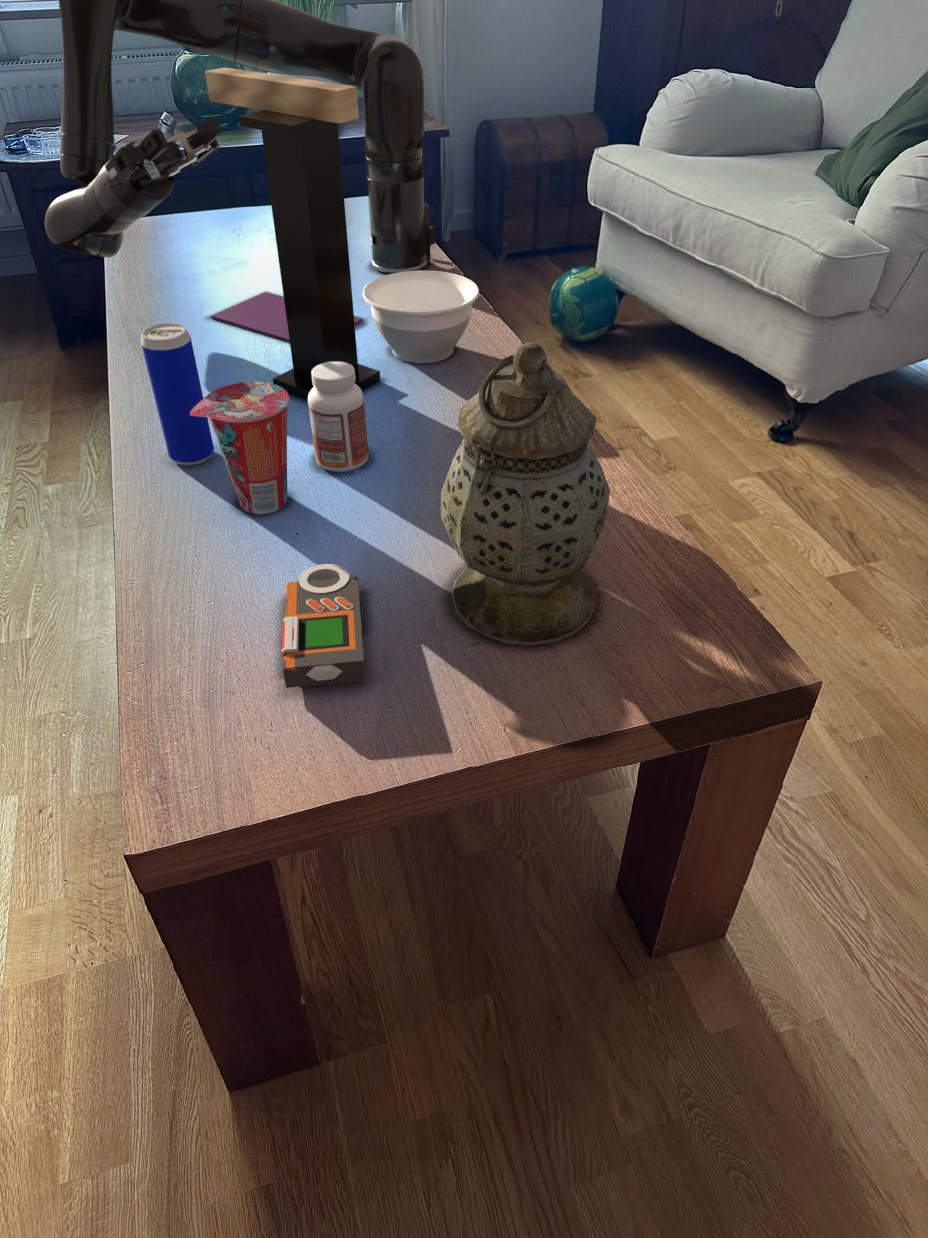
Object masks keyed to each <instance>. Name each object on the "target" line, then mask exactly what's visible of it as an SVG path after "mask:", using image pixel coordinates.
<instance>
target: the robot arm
mask: <svg viewBox="0 0 928 1238" xmlns="http://www.w3.org/2000/svg"><path fill="white" fill-rule="evenodd" d="M58 8H59V15H60V24H61V37H62V39H61V40H62V92H61V94H62V96H61V116H60V155H59V157H60V158H59V159H60V160H59V161H60V162H59V165H60V172H61V175H62V176H63V177H64V178H65V179H66V180H68V181H70V182H72V183H74V184H75V185H78V186H80V187H79V188H76V189H73V190H71V191H67V192H66V193H62V194H61V195H60V196H58V197H57V198H55V199H54V200H53V201H52V202H51V203H50V205H49V206H48V208H47V210H46V212H45V215H44V216H45V217H44V229H45V233H46V235H47V237H48V239H49V240H50V242H51V243H52V244H53V245H54V246H55V247H57V248H58V249H60V250H62V251H66V252H70V253H77V254H81V255H88V256H94V257H100V258H108V259H109V258H113V257H114V256H116V255H117V254H118V253H119V251H120V250H121V248H122V247H123V242H124V231H125V230H127V229H128V228H129V227H131V226H132V225H134V223H135V222H136V221H138V220H139V219H142V218H144V217H145V216H147V215H148V214H149V213H150V212H152V210H154V209H155V208H156V207H157V206H159V205H160V204H161V203H162V202H163V201H164V200H165V199H167V198H168V197H169V196H170V194H171V193H172V191H173V188H174V184H175V183H174V180H175V178H174V177H175V176H176V175H177V174H178V173H180V172H181V170H182V169H183V168H185V167H187V166H189V165H191V166H197V165H199V164H200V162H202V161H203V160H204V159H206V158H207V157H208V156H209V155H210V154H212V153H213V152H214V151H216V150H217V149H218V148H219V147H220V144H219V142H218V140H217V139H218V137H219V136H221V135H222V134H223V129H222V127H221V125H220V123H219V121H218V118H217V117H216V116H215V115H209V116H207V117H206V118H205V119H204V120H203V121H201V122H200V124H199V125H197V126H196V127H195V128H194V129H193V130H190V131H189V132H187V133H185V132H182V131H179V132H178V133H176V134H174V135H172V136H170V137H168V138H166V137H165V135H164V132H163V131H162V129H161V128H159V127H158V128H154V129H152V130H151V131H150V132H149V133H148V134H147V135H146V136H144V138H143V139H142V140H133V141H129V142H127V143H126V144H124V145H123V146H121V147H120V148H119V149H118V151H116V153H114V152H115V151H114V150H115V149H114V148H115V117H114V115H115V113H114V99H113V82H112V81H113V80H112V59H113V43H114V35H115V31H118V32H123V33H131V34H136V35H142V36H147V37H153V38H157V39H161V40H165V41H168V42H171V43H174V44H177V45H180V46H182V47H185V48H187V49H190V50H193V51H195V52H199V53H201V54H204V55H208V56H210V57H213V58H217V59H219V60H222V61H225V62H228V63H230V64H231V63H232V64H235V65H238V66H242V67H246V68H249V69H252V70H256V71H260V72H264V73H269V74H276V75H285V76H289V75H290V76H302V77H315V78H322V79H326V80H330V81H333V82H334V83H337V84H343V85H350V86H356V87H357V91H358V92H361V93H362V98H363V99H362V100H363V113H364V114H363V115H364V153H365V167H366V169H365V170H366V181H367V196H368V197H367V199H368V211H369V212H368V213H369V227H370V228H369V229H370V230H368V234H369V235H368V236H369V241H370V244H371V266H372V268H373V269H374V270H375V271H377V272H381V273H384V274H385V273H386V274H393V273H398V272H405V271H416V270H423V269H424V268H426V267H427V265H428V264H431V262H432V261H431V247H432V246H433V245H435V244H436V227H435V226H431V224H430V223H431V221H430V205H429V204H428V203H426V202H425V176H424V174H425V173H424V140H425V129H426V128H425V82H424V81H425V79H424V78H425V77H424V70H423V65H422V62H421V60H420V57H419V56H418V54H417V52H416V51H415V50H414V48H412V46H411V45H410V44H409V43H408V42H407V41H406V40H405V39H404V38H402V37H400V36H398V35H396V34H391V33H385V32H378V31H372V30H365V29H359V28H355V27H351V26H344V25H340V24H337V23H333V22H330V21H327V20H324V19H322V18H320V17H318V16H315V15H313V14H311V13H309V12H307V11H304V10H302V9H299V8H297V7H296V6H295V7H294V6H292V5H289V4H287V3H284V2H281V1H278V0H58ZM179 141H180V142H181V144H182V148H183V150H181V149H180V147H179V145H178V144H177V142H179Z"/></svg>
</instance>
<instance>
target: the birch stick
mask: <svg viewBox="0 0 928 1238" xmlns="http://www.w3.org/2000/svg"><path fill="white" fill-rule="evenodd" d="M204 73H205V79H206V80H205V81H206V85H207V91H208V98H209V101H210V102H212V103H217V104H222V105H223V104H224V105H229V106H235V107H242V108H245V109H252V110H257V111H258V110H259V111H263V110H264V111H270V112H276V113H281V114H287V115H293V116H299V117H305V118H311V119H316V120H322V121H328V122H334V123H341V124H344V123H348V122H352V121H355V120H358V119H359V118H360V113H359V100H358V99H359V98H358V90H357V87H356V86H350V85H344V84H341V83H337V82H328V81H322V80H314V79H308V78H301V77H293V76H289V75H282V74H275V73H268V72H261V71H260V72H259V71H254V70H253V71H252V70H246V69H239V68H232V67H220V68H215V69H208V70H205V71H204Z"/></svg>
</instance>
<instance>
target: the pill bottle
mask: <svg viewBox="0 0 928 1238" xmlns="http://www.w3.org/2000/svg"><path fill="white" fill-rule="evenodd" d="M311 374H312V382H313V386H314V387H313V388H312V389H311V391H310V392H309V395H308V401H307V405H308V412H309V419H310V426H311V427H310V428H311V434H312V442H313V450H314V458H315V460H316V463H317V464H318V465H319V467H321V468H322V469H324V470H326V471H330V472H335V473H345V472H346V473H347V472H351V471H354V470H356V469H359V468H361V467H362V466H363V465H364V464H366V463H367V461H368V459H369V457H370V451H369V450H370V449H369V439H368V428H367V419H366V407H365V397H364V393H363V392H364V391H362V390H361V389H360V387H359V386H357V385H356V384H355V380H356V377H355V370H354V367H353V366H352V365H350V364H348V363H345V362H326V363H322V364H319V365H317V366H316V367H314V368H313V369H312V372H311Z"/></svg>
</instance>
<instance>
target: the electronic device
mask: <svg viewBox="0 0 928 1238" xmlns="http://www.w3.org/2000/svg"><path fill="white" fill-rule="evenodd" d="M359 583H360V582H359V576H350V573H349V571H348V569H346V568H344V567H343V566H341V565H337V564H333V563H322V564H318V565H317V564H316V565H313V566H311V567H309V568H307V569H305V570H304V571H302V573H301V574H300V575H299V577H298V580H297V581H289V582H288V583H287V584H286V592H285V593H286V595H285V615H284V618H283V620H282V635H281V636H282V637H281V638H282V639H281V656H282V657H281V658H282V661H283V665H282V671H283V672H282V673H283V678H284V684H285V688H286V689H290V688H300V687H311V686H321V685H332V684H342V683H352V682H362V681H363V682H364V681H366V679H367V678H366V667H365V652H364V651H365V649H364V638H363V623H362V609H361V608H362V607H361V595H360V586H359Z"/></svg>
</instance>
